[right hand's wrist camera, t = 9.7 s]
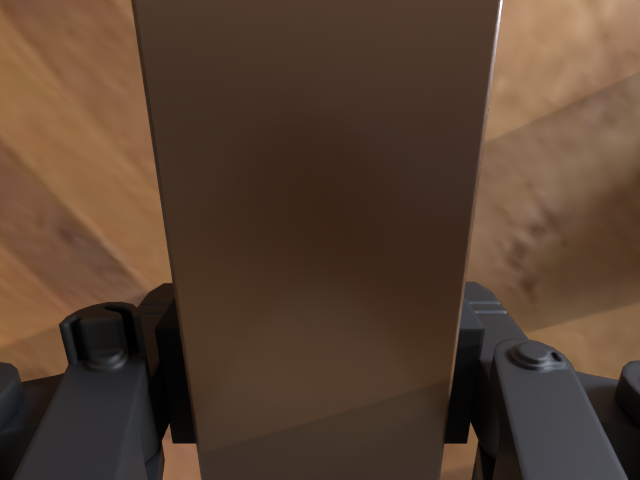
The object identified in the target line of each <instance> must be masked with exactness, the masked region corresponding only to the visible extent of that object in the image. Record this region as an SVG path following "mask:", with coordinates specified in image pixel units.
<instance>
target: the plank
mask: <svg viewBox="0 0 640 480" xmlns="http://www.w3.org/2000/svg"><path fill="white" fill-rule="evenodd" d="M131 1H132V8H133V15H134V22H135V29H136V36H137V42H138V49H139V56H140V63H141V70H142V77H143V83H144V90H145V97H146V104H147V111H148V118H149V124H150V131H151V138H152V145H153V152H154V159H155V165H156V172H157V179H158V186H159V193H160V200H161V206H162V213H163V220H164V227H165V234H166V241H167V247H168V254H169V261H170V268H171V275H172V282H173V288H174V295H175V302H176V309H177V316H178V323H179V329H180V336H181V343H182V350H183V357H184V364H185V370H186V377H187V384H188V391H189V398H190V405H191V411H192V418H193V425H194V432H195V439H196V445H197V452H198V459H199V466H200V473H201V480H439V479H440V471H441V464H442V456H443V449H444V441H445V434H446V426H447V418H448V411H449V403H450V396H451V388H452V381H453V373H454V366H455V358H456V351H457V343H458V335H459V328H460V320H461V313H462V305H463V298H464V290H465V283H466V275H467V268H468V260H469V252H470V245H471V237H472V230H473V222H474V215H475V207H476V200H477V192H478V185H479V177H480V170H481V162H482V154H483V147H484V139H485V132H486V124H487V117H488V109H489V102H490V94H491V87H492V79H493V71H494V64H495V56H496V49H497V41H498V34H499V26H500V19H501V11H502V4H503V0H131Z"/></svg>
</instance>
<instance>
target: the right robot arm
mask: <svg viewBox="0 0 640 480" xmlns="http://www.w3.org/2000/svg"><path fill="white" fill-rule="evenodd" d="M59 328H60V332H61V335H62V339H63V343H64V347H65V351H66V355H67V359H68V363H69V365H68V367H67V369H66V371H65V373H63V374H59V375H55V376H51V377H45V378H40V379H35V380H30V381H25V382H21V380H20V376H19V373H18V370H17V368H15V367H14V366H13V365H12V364H9V363H2V362H0V480H162V479H163V470H164V462H165V459H164V452H163V446H162V439H163V437H164V434H165V432H166V430H167V427H168V425H169V423H170V429H171V436H172V442H173V443H196V439H195V432H194V425H193V418H192V411H191V405H190V398H189V391H188V384H187V377H186V370H185V364H184V357H183V350H182V343H181V336H180V329H179V323H178V316H177V309H176V302H175V295H174V288H173V283H164V284H162V285H160V286H159V287H157V288H156V289H154V290H152V291H151V292H149V293H148V294H147V296H146V297H145V298H144V300H143V301H142V302H141V303H140V306H138V307H135V306H134V305H133V304H129V303H124V302H107V303H101V304H96V305H92V306H89V307H86V308H83V309H80V310H78V311H76V312H74V313H73V314H71V315H69V316H67V317H66V318H65V319H64V320H63V321H62V322H61V323H60V324H59ZM470 421H471V424H472V426H473V428H474V431H475V433H476V435H477V438H478V446H477V452H476V457H475V463H474V469H473V475H472V480H640V360H638V361H631V362H628V363H627V364H626V365H625V366H623V368H622V371H621V375H620V378H619V380H615V379H609V378H604V377H599V376H594V375H589V374H584V373H580V372H576V371H575V370H574V368H573V366H572V364H571V363H570V362H569V360H568V359H567V358H566V357H565V355H563V354H562V353H560V352H559V351H557V350H556V349H554V348H553V347H551V346H548V345H546V344H543V343H541V342H538V341H533V340H529V339H528V338H527V337H526V336H525V334H524V333H523V332H522V330H521V329H520V328H519V327H518V325H517V324H516V323H515V321H514V320H513V319H512V318H511V316H510V315H509V314H507V311H506V310H505V309H504V307H503V306H502V305H501V304H499V301H498V300H497V298H496V297H495V296H494V294H493V293H492V292H491V291H490V290H488V289H487V288H485V287H483V286H482V285H480V284H478V283H477V282H466V283H465V290H464V298H463V305H462V313H461V320H460V328H459V335H458V343H457V351H456V358H455V366H454V373H453V381H452V388H451V396H450V403H449V411H448V418H447V426H446V434H445V441H444V444H467V439H468V433H469V427H470Z"/></svg>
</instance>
